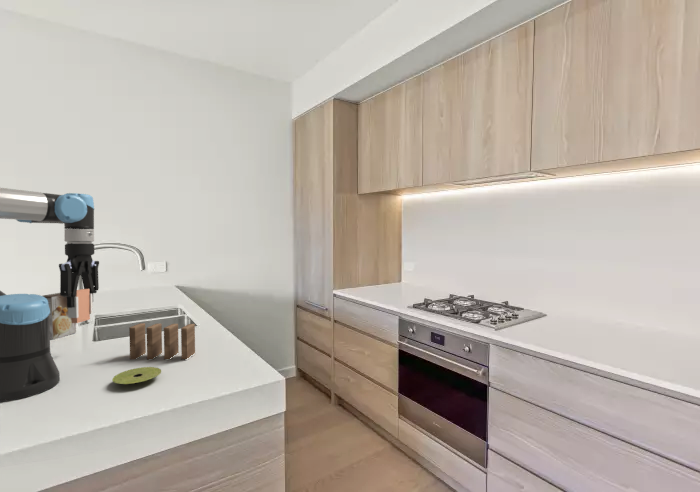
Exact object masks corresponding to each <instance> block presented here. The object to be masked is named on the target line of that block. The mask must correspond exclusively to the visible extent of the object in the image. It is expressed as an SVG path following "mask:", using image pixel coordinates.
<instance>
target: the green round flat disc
mask: <svg viewBox="0 0 700 492" xmlns="http://www.w3.org/2000/svg"><path fill="white" fill-rule="evenodd" d="M160 374H162V369H161V368H158V367H154V366H143V367H136V368H135V367H134V368H131V369H128V370H125V371H122V372H119V373H118V374H116V375H115V376H113V378H112V382H113V383H114V384H121V385H129V384H135V383H141V382H147V381H149V380H152V379H154V378H156V377H158V376H160Z"/></svg>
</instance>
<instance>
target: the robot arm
mask: <svg viewBox="0 0 700 492" xmlns="http://www.w3.org/2000/svg"><path fill="white" fill-rule="evenodd" d="M94 204H95V203H94V198H93V196H92V195H90V194H86V193H77V192H76V193H74V192H73V193H71V192H69V193H64V194H55V193H47V192H41V191H40V192H39V191H33V190H32V191H30V190H23V189H14V188H8V187H6V188H5V187H0V219H4V220H16V221H17V222H20V223H28V224H32V223H33V224H61V225H64V227H63V229H64V242H65V244H64V255H65V256H67V260H66V262H64V263H59V264H58V268H59V272H60V273H59V274H60V276H59V277H60V279H59V280H60V283H59V287H60V288H59V289H60V291H59V293H60V295H61V296H63V297H67V307H68V318H78V317H79V314H78V297H75V296H76V292H77V290H78V286H79V282H80V277H81V281H82V285H83V289H90V294H89V296H90V315H92V314H94V311H93V309H94V308H93V306H94V304H93V302H94V294H96V293H97V292H98V291H99V288H100V287H99V266H100V261H99V260H94V259H93V257H92V256H93V255H94V254H95V244H94V243H93V242H95V217H94V216H95V205H94ZM71 292H72V293H71ZM49 314H50V308H49V304H48V300H47V299H46V298H45V297H43V295H40V294H34V293H29V294H28V293H11V294H6V293H5V292H3V291H1V290H0V402H8V401H14V400H18V399H19V400H20V399H23V398H27V397H31V396H34V395H37V394H40V393H44V392H46V391H48V390H50V389H53V387H55V386H57V385H58V384H59V383H60V381H61V379H60V371H59V369H58V367H57V365H56V362H55V360H54V358H53V357H52V354H51V339H50V318H49Z"/></svg>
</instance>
